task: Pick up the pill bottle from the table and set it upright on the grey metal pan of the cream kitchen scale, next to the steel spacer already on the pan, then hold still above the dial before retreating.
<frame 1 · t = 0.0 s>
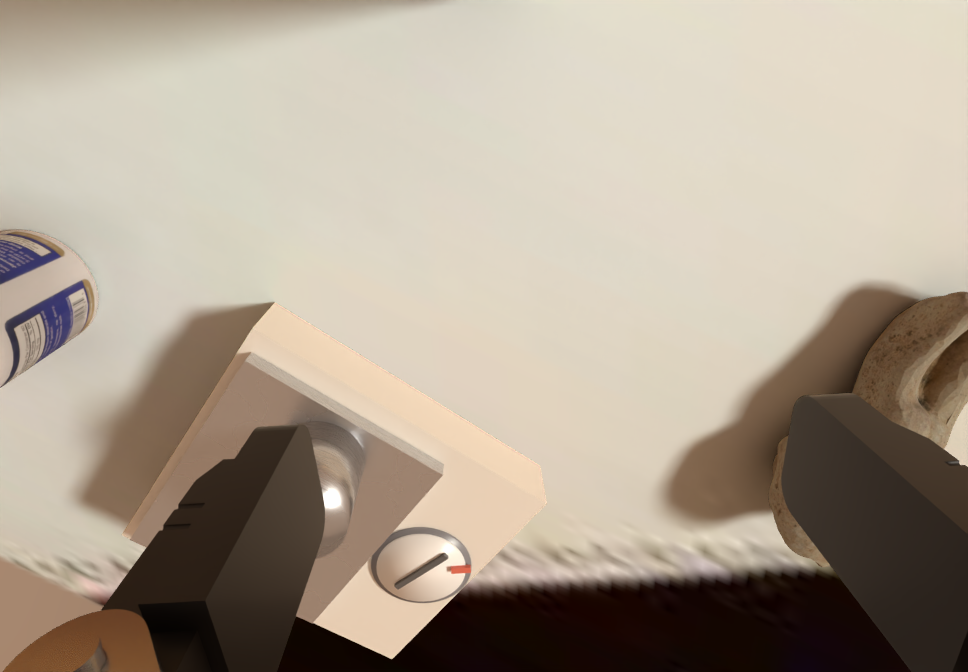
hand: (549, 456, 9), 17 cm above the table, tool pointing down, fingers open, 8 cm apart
scale housing: (345, 480, 31), on the table
steel spacer: (320, 458, 26), point 4 cm above the table, touching scale pan
sculpture: (850, 399, 30), on the table
scale pan: (285, 502, 27), point 3 cm above the table, slide at 0.4 cm, touching steel spacer
pill bottle: (45, 283, 26), on the table
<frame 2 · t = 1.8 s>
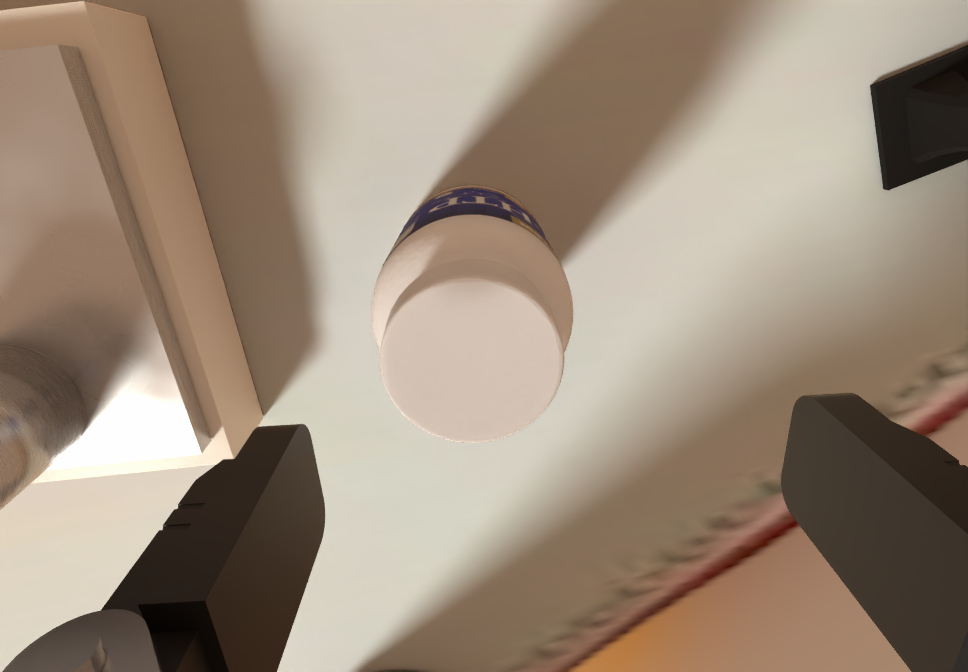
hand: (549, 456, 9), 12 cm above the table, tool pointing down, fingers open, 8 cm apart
steel spacer: (18, 403, 18), point 4 cm above the table, touching scale pan
pill bottle: (471, 256, 20), on the table
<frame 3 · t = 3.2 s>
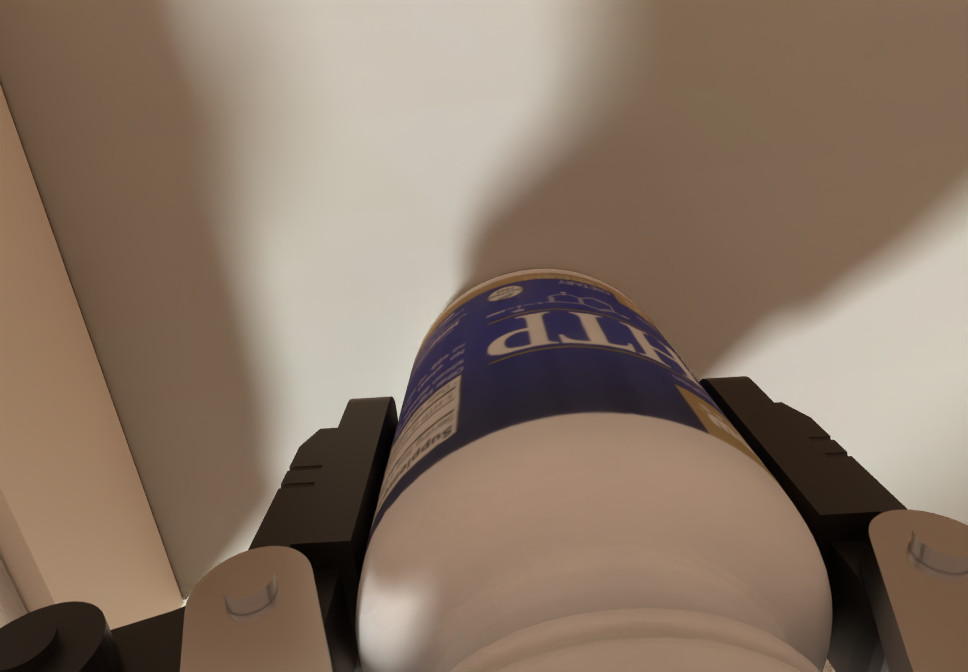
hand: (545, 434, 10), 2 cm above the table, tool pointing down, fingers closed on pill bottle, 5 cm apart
pill bottle: (535, 379, 12), on the table, touching gripper
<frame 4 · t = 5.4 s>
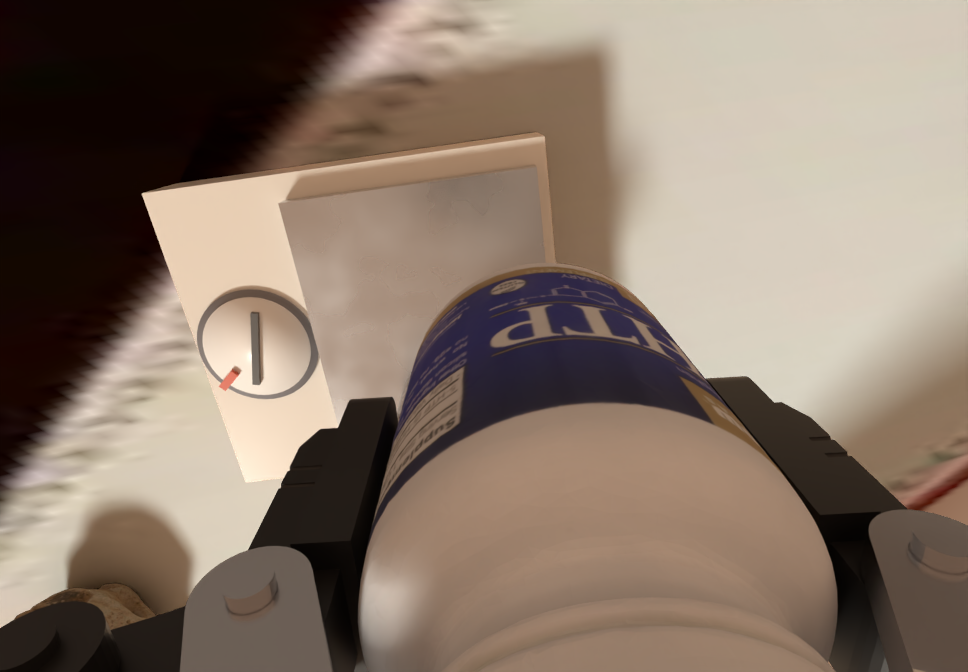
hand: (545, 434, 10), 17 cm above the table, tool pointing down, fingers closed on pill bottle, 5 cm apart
scale housing: (387, 306, 28), on the table
sculpture: (145, 642, 36), on the table
scale pan: (433, 326, 24), point 3 cm above the table, slide at 0.4 cm, touching steel spacer
pill bottle: (537, 374, 12), point 15 cm above the table, touching gripper
when the fingers open (7 cm above the table, at t = 7.9 s): pill bottle drops 2 cm, resting on scale pan.
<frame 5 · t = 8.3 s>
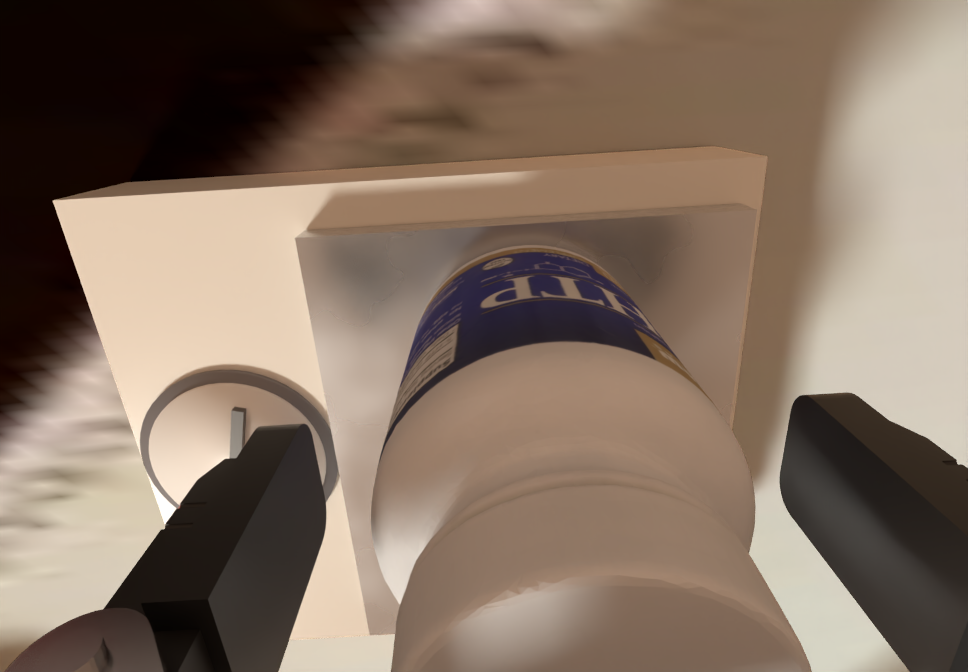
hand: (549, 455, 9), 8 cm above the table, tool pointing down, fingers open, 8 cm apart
scale housing: (442, 391, 18), on the table
scale pan: (530, 447, 15), point 3 cm above the table, slide at 0.5 cm, touching pill bottle, steel spacer
pill bottle: (525, 346, 14), point 4 cm above the table, touching scale pan
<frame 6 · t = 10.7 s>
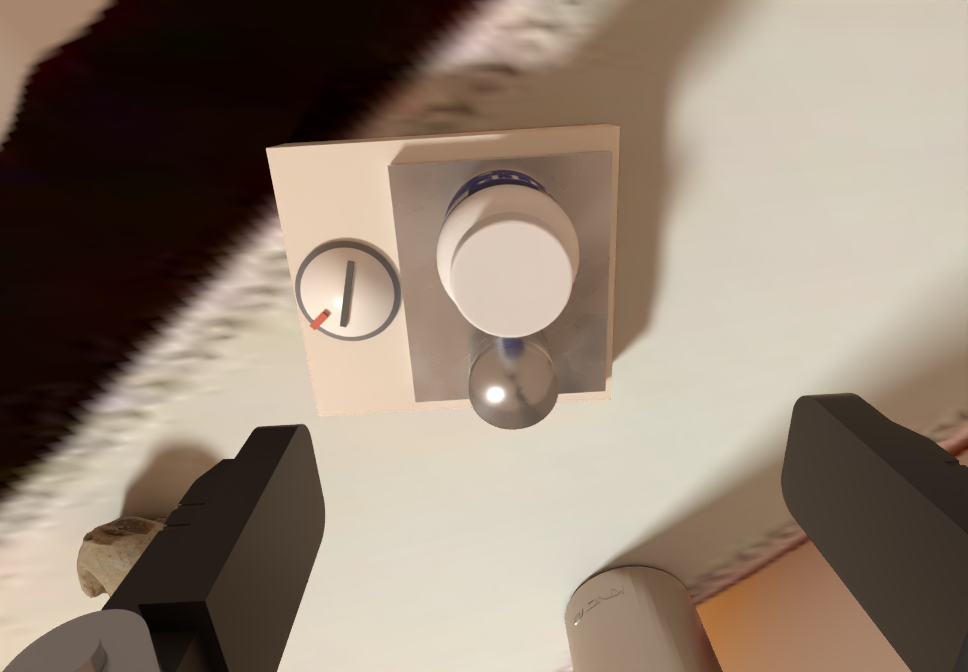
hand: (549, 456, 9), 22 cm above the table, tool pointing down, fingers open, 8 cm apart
scale housing: (456, 269, 31), on the table
steel spacer: (508, 354, 29), point 4 cm above the table, touching scale pan
sculpture: (178, 576, 40), on the table
scale pan: (505, 285, 28), point 3 cm above the table, slide at 0.5 cm, touching pill bottle, steel spacer
pill bottle: (500, 224, 26), point 4 cm above the table, touching scale pan
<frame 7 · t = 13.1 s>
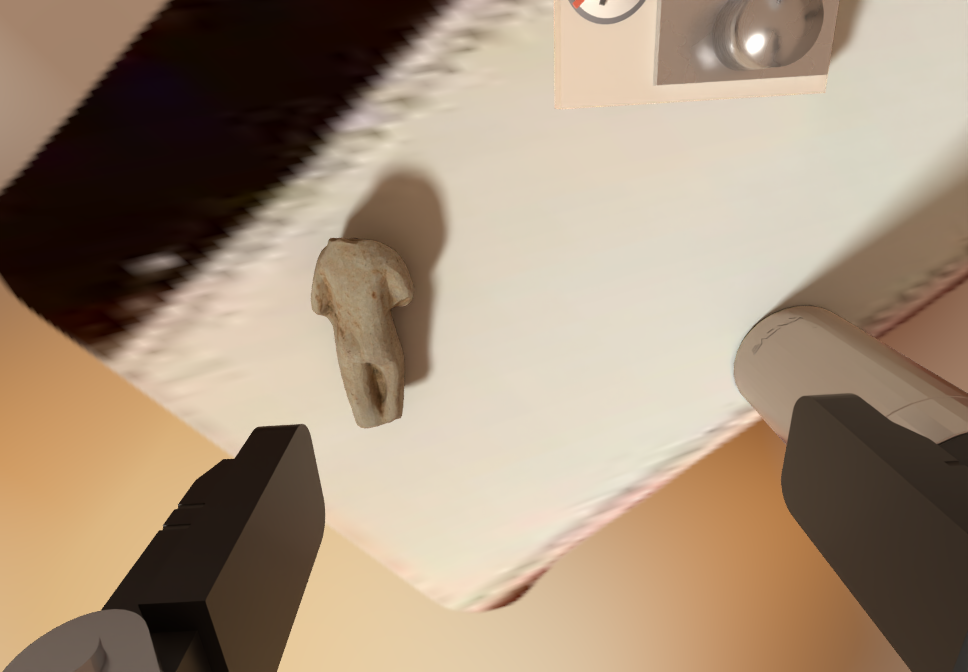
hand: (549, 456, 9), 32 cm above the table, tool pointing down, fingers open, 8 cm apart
steel spacer: (747, 32, 32), point 4 cm above the table, touching scale pan
sculpture: (375, 321, 43), on the table
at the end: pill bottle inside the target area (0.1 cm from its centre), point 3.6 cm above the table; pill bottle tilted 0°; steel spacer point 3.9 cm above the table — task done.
